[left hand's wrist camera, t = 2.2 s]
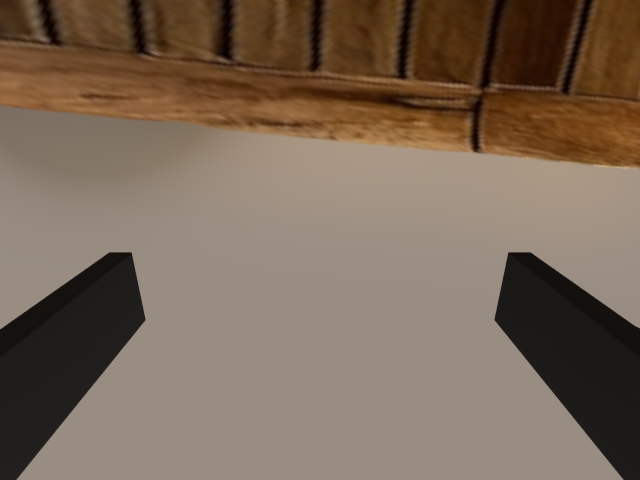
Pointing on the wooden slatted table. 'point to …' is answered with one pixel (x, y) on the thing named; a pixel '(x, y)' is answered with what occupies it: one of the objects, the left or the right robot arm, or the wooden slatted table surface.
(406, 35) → the wooden slatted table surface
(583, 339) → the left robot arm
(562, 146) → the wooden slatted table surface
